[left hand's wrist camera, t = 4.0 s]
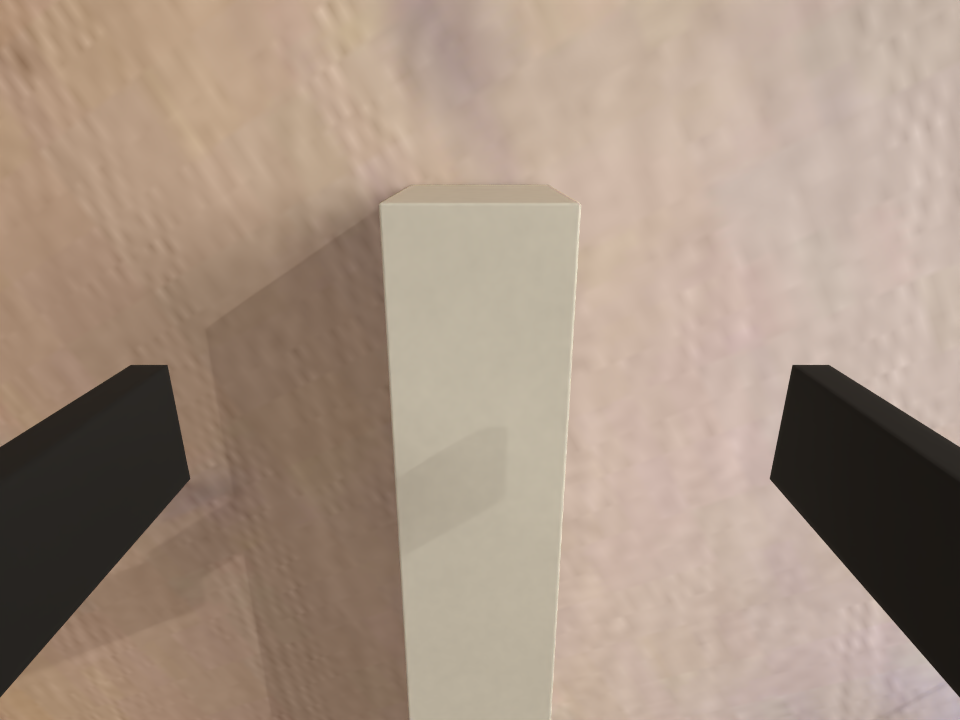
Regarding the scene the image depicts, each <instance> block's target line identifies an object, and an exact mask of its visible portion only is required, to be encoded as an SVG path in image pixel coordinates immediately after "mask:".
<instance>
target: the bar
mask: <svg viewBox="0 0 960 720" xmlns="http://www.w3.org/2000/svg"><path fill="white" fill-rule="evenodd" d="M580 215H581V204H580V203H579V202H577V201H575V200H574V199H572V198H570V197H568V196H567V195H565V194H563V193H561V192H560V191H558V190H556V189H555V188H553V187H551V186H549V185H411V186H409V187H407V188H405V189H404V190H402V191H400V192H398V193H397V194H395V195H393V196H391V197H390V198H388V199H386V200H385V201H383V202H381V203H379V219H380V236H381V253H382V270H383V287H384V304H385V321H386V338H387V355H388V372H389V389H390V406H391V423H392V440H393V457H394V474H395V491H396V508H397V525H398V542H399V559H400V576H401V593H402V610H403V627H404V644H405V661H406V678H407V695H408V712H409V720H551V708H552V691H553V674H554V657H555V640H556V623H557V606H558V589H559V572H560V555H561V538H562V521H563V504H564V487H565V470H566V453H567V436H568V419H569V402H570V385H571V368H572V351H573V334H574V317H575V300H576V283H577V266H578V249H579V232H580Z"/></svg>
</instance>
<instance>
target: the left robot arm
mask: <svg viewBox="0 0 960 720" xmlns="http://www.w3.org/2000/svg"><path fill="white" fill-rule="evenodd" d="M189 480H190V475H189V470H188V465H187V460H186V455H185V450H184V445H183V440H182V435H181V430H180V425H179V420H178V415H177V410H176V405H175V400H174V395H173V390H172V385H171V380H170V375H169V370H168V365H130V366H129V367H127V368H125V369H124V370H122V371H121V372H119V373H118V374H116V375H114V376H113V377H111V378H110V379H108V380H106V381H105V382H103V383H102V384H100V385H98V386H97V387H95V388H94V389H92V390H90V391H89V392H87V393H86V394H84V395H83V396H81V397H79V398H78V399H76V400H75V401H73V402H71V403H70V404H68V405H67V406H65V407H63V408H62V409H60V410H59V411H57V412H55V413H54V414H52V415H51V416H49V417H48V418H46V419H44V420H43V421H41V422H40V423H38V424H36V425H35V426H33V427H32V428H30V429H28V430H27V431H25V432H24V433H22V434H20V435H19V436H17V437H16V438H14V439H12V440H11V441H9V442H8V443H6V444H5V445H3V446H1V447H0V697H1V696H2V695H3V694H4V692H5V691H6V690H7V689H8V688H9V687H10V685H11V684H12V683H13V682H14V681H15V680H16V679H17V677H18V676H19V675H20V674H21V673H22V672H23V671H24V669H25V668H26V667H27V666H28V665H29V664H30V662H31V661H32V660H33V659H34V658H35V657H36V656H37V654H38V653H39V652H40V651H41V650H42V649H43V648H44V646H45V645H46V644H47V643H48V642H49V641H50V639H51V638H52V637H53V636H54V635H55V634H56V633H57V631H58V630H59V629H60V628H61V627H62V626H63V625H64V623H65V622H66V621H67V620H68V619H69V618H70V616H71V615H72V614H73V613H74V612H75V611H76V610H77V608H78V607H79V606H80V605H81V604H82V603H83V602H84V600H85V599H86V598H87V597H88V596H89V595H90V594H91V592H92V591H93V590H94V589H95V588H96V587H97V585H98V584H99V583H100V582H101V581H102V580H103V579H104V577H105V576H106V575H107V574H108V573H109V572H110V571H111V569H112V568H113V567H114V566H115V565H116V564H117V562H118V561H119V560H120V559H121V558H122V557H123V556H124V554H125V553H126V552H127V551H128V550H129V549H130V548H131V546H132V545H133V544H134V543H135V542H136V541H137V539H138V538H139V537H140V536H141V535H142V534H143V533H144V531H145V530H146V529H147V528H148V527H149V526H150V525H151V523H152V522H153V521H154V520H155V519H156V518H157V516H158V515H159V514H160V513H161V512H162V511H163V510H164V508H165V507H166V506H167V505H168V504H169V503H170V502H171V500H172V499H173V498H174V497H175V496H176V495H177V493H178V492H179V491H180V490H181V489H182V488H183V487H184V485H185V484H186V483H187V482H188V481H189ZM770 480H771V481H772V482H773V483H774V484H775V485H776V487H777V488H778V489H779V490H780V491H781V492H782V493H783V495H784V496H785V497H786V498H787V499H788V500H789V502H790V503H791V504H792V505H793V506H794V507H795V508H796V510H797V511H798V512H799V513H800V514H801V515H802V516H803V518H804V519H805V520H806V521H807V522H808V523H809V525H810V526H811V527H812V528H813V529H814V530H815V531H816V533H817V534H818V535H819V536H820V537H821V538H822V539H823V541H824V542H825V543H826V544H827V545H828V546H829V548H830V549H831V550H832V551H833V552H834V553H835V554H836V556H837V557H838V558H839V559H840V560H841V561H842V562H843V564H844V565H845V566H846V567H847V568H848V569H849V571H850V572H851V573H852V574H853V575H854V576H855V577H856V579H857V580H858V581H859V582H860V583H861V584H862V585H863V587H864V588H865V589H866V590H867V591H868V592H869V594H870V595H871V596H872V597H873V598H874V599H875V600H876V602H877V603H878V604H879V605H880V606H881V607H882V608H883V610H884V611H885V612H886V613H887V614H888V615H889V616H890V618H891V619H892V620H893V621H894V622H895V623H896V625H897V626H898V627H899V628H900V629H901V630H902V631H903V633H904V634H905V635H906V636H907V637H908V638H909V639H910V641H911V642H912V643H913V644H914V645H915V646H916V648H917V649H918V650H919V651H920V652H921V653H922V654H923V656H924V657H925V658H926V659H927V660H928V661H929V662H930V664H931V665H932V666H933V667H934V668H935V669H936V671H937V672H938V673H939V674H940V675H941V676H942V677H943V679H944V680H945V681H946V682H947V683H948V684H949V685H950V687H951V688H952V689H953V690H954V691H955V692H956V694H957V695H958V696H959V697H960V447H959V446H957V445H955V444H954V443H952V442H951V441H949V440H948V439H946V438H944V437H943V436H941V435H940V434H938V433H936V432H935V431H933V430H932V429H930V428H928V427H927V426H925V425H924V424H922V423H920V422H919V421H917V420H916V419H914V418H912V417H911V416H909V415H908V414H906V413H905V412H903V411H901V410H900V409H898V408H897V407H895V406H893V405H892V404H890V403H889V402H887V401H885V400H884V399H882V398H881V397H879V396H877V395H876V394H874V393H873V392H871V391H870V390H868V389H866V388H865V387H863V386H862V385H860V384H858V383H857V382H855V381H854V380H852V379H850V378H849V377H847V376H846V375H844V374H842V373H841V372H839V371H838V370H836V369H835V368H833V367H831V366H830V365H792V370H791V375H790V380H789V385H788V390H787V395H786V400H785V405H784V410H783V415H782V420H781V425H780V430H779V435H778V440H777V445H776V450H775V455H774V460H773V465H772V470H771V475H770Z"/></svg>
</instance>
